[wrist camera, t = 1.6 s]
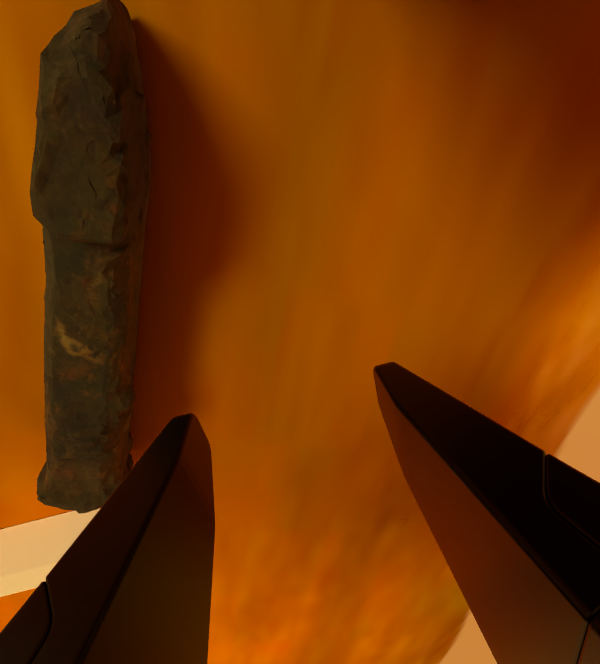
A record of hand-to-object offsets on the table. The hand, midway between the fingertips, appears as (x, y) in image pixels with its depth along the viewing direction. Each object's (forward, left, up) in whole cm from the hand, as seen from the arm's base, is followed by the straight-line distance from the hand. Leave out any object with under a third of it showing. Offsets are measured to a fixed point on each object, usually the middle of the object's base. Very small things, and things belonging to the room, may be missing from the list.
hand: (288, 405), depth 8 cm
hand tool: (+7, 0, -10) cm, 13 cm away
